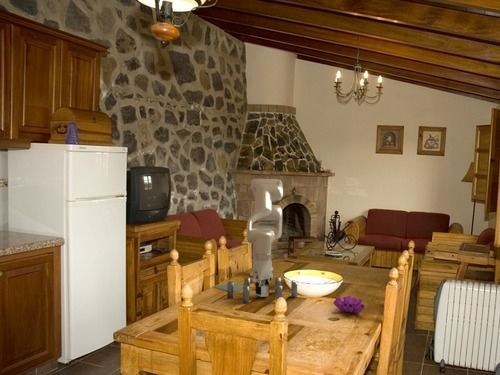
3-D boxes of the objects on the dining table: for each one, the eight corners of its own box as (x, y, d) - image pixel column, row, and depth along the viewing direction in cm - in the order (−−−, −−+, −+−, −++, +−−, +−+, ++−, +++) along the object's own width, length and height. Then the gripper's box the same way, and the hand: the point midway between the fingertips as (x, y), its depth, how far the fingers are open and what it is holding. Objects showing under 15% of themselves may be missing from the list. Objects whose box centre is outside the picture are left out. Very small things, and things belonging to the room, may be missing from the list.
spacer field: (261, 287, 248) (262, 272, 248) (298, 297, 232) (298, 281, 232) (225, 297, 228) (226, 281, 228) (262, 309, 212) (263, 292, 212)
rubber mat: (231, 282, 257) (232, 282, 257) (250, 287, 248) (250, 287, 247) (213, 287, 247) (213, 286, 247) (232, 292, 237) (232, 292, 237)
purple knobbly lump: (344, 323, 205) (332, 305, 206) (345, 312, 220) (334, 296, 221) (366, 310, 203) (353, 292, 204) (366, 300, 217) (353, 283, 218)
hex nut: (253, 294, 230) (254, 284, 230) (261, 292, 235) (261, 282, 234) (263, 297, 226) (263, 287, 226) (270, 295, 230) (271, 285, 230)
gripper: (268, 253, 238) (267, 287, 239) (245, 257, 225) (245, 294, 226) (280, 255, 233) (279, 290, 234) (257, 260, 220) (256, 298, 221)
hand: (262, 292), depth 230 cm, fingers closed on hex nut, 5 cm apart
